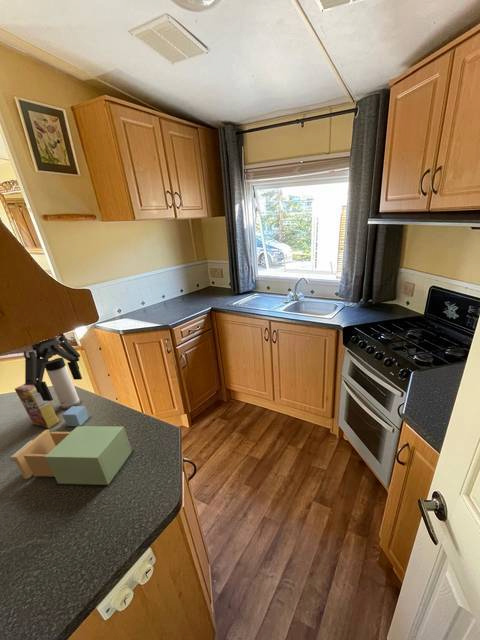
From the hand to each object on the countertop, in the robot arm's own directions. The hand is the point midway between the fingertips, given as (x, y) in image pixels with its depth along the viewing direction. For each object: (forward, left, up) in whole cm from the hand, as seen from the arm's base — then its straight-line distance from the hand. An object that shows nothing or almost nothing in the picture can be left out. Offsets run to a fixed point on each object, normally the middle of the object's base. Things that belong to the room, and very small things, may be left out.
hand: (64, 389), depth 97 cm
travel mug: (-13, +13, -15) cm, 24 cm away
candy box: (-14, +1, -15) cm, 20 cm away
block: (-2, +2, -15) cm, 15 cm away
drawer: (+6, -19, -14) cm, 24 cm away
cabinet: (+19, -19, -15) cm, 31 cm away
